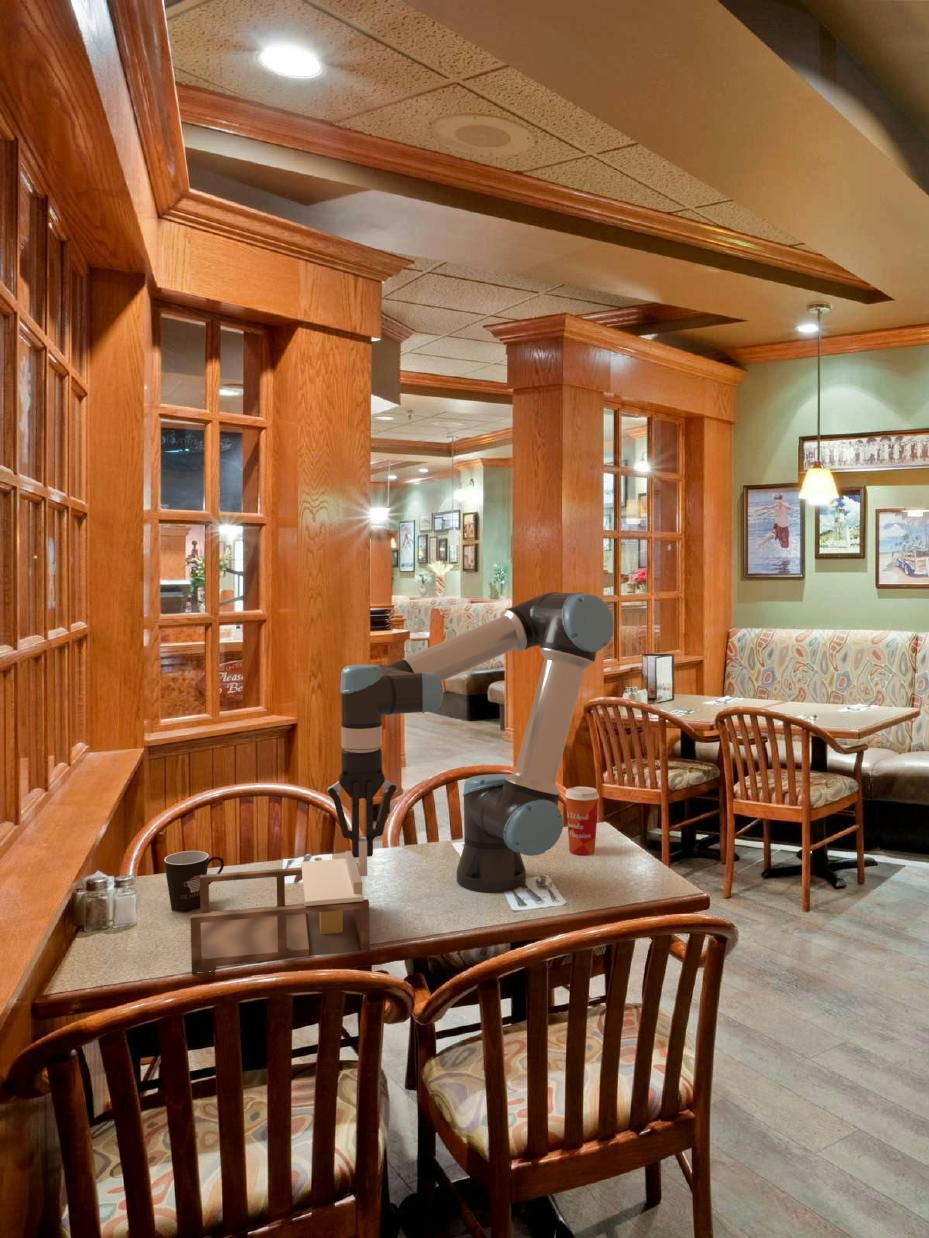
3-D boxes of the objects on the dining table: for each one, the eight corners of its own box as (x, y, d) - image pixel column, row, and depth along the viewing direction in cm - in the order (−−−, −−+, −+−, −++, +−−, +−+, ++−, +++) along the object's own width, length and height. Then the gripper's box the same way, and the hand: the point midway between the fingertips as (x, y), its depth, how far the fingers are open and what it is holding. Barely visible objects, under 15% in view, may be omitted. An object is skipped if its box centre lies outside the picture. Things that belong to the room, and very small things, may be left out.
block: (341, 923, 167) (340, 882, 167) (342, 932, 163) (342, 889, 163) (319, 925, 166) (319, 883, 166) (320, 934, 162) (320, 891, 162)
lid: (352, 861, 176) (352, 847, 176) (363, 901, 155) (363, 885, 155) (301, 865, 174) (300, 851, 174) (305, 906, 153) (304, 890, 153)
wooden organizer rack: (358, 910, 177) (357, 862, 176) (369, 956, 156) (369, 902, 155) (201, 924, 170) (200, 874, 170) (191, 974, 149) (190, 917, 149)
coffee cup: (557, 851, 213) (557, 789, 212) (579, 844, 218) (579, 784, 218) (584, 859, 207) (584, 796, 206) (606, 851, 212) (607, 790, 211)
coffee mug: (164, 916, 174) (163, 866, 174) (166, 900, 183) (165, 853, 182) (225, 909, 178) (224, 860, 177) (224, 894, 186) (223, 847, 185)
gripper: (393, 743, 169) (394, 864, 170) (324, 746, 166) (326, 869, 168) (399, 750, 162) (400, 877, 163) (327, 753, 159) (328, 883, 160)
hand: (362, 873), depth 165 cm, fingers closed
